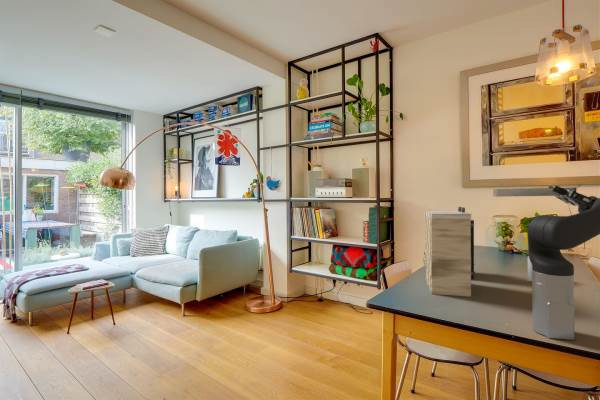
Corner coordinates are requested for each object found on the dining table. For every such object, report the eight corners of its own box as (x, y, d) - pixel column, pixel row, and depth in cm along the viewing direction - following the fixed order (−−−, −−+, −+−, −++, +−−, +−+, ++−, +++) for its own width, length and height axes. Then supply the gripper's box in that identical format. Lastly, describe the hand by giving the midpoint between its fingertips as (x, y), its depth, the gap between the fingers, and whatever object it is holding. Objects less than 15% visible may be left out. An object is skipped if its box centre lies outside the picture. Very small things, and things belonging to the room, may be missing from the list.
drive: (576, 195, 116) (576, 187, 116) (496, 196, 122) (496, 188, 122) (570, 195, 119) (570, 187, 119) (493, 196, 126) (493, 189, 126)
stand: (471, 297, 120) (471, 208, 119) (432, 294, 124) (431, 208, 123) (458, 281, 141) (458, 206, 141) (425, 279, 145) (424, 206, 144)
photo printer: (535, 277, 147) (535, 250, 146) (546, 279, 143) (546, 252, 143) (525, 280, 141) (525, 253, 141) (536, 283, 137) (536, 254, 137)
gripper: (592, 201, 122) (547, 180, 126) (619, 202, 108) (567, 178, 112) (581, 217, 123) (536, 196, 127) (605, 220, 109) (555, 196, 113)
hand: (551, 188), depth 119 cm, fingers closed on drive, 4 cm apart
